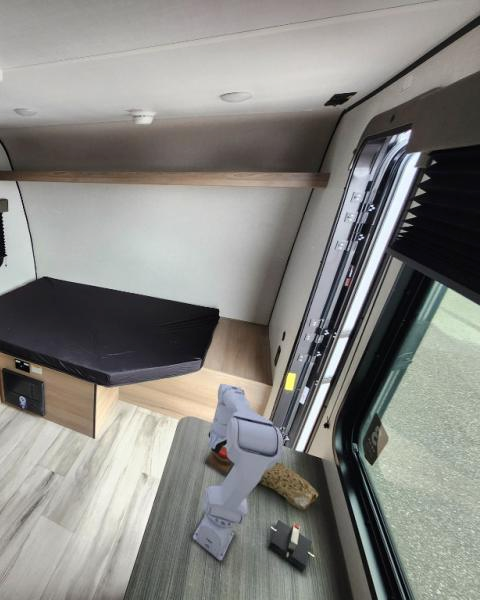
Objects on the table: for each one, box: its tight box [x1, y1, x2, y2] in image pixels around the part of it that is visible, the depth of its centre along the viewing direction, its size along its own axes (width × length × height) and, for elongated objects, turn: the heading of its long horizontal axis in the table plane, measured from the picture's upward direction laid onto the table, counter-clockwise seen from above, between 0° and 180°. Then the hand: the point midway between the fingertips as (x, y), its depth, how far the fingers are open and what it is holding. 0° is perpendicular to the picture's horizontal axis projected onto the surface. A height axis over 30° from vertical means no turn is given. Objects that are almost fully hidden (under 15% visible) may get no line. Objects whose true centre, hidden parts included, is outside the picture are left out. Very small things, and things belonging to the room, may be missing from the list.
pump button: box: [218, 446, 228, 459], centre depth 108 cm, size 4×4×2 cm
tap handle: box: [287, 522, 301, 552], centre depth 83 cm, size 6×1×4 cm, turn 141°
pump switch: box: [205, 450, 234, 477], centre depth 109 cm, size 10×7×4 cm
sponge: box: [258, 461, 319, 511], centre depth 100 cm, size 13×8×20 cm
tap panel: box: [268, 519, 315, 573], centre depth 84 cm, size 10×10×3 cm
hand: (215, 450), depth 101 cm, fingers closed
